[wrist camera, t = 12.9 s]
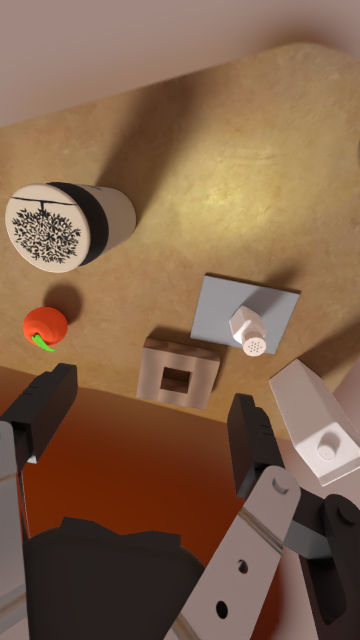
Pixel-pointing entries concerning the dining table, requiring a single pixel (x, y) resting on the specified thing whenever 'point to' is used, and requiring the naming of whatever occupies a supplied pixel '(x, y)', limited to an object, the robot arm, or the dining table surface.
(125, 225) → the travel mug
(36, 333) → the clementine
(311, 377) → the milk carton
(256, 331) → the salt shaker
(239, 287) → the placemat
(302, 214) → the dining table surface
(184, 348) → the shaker holder
